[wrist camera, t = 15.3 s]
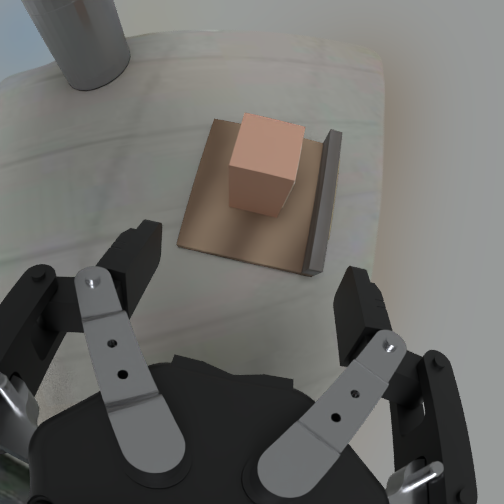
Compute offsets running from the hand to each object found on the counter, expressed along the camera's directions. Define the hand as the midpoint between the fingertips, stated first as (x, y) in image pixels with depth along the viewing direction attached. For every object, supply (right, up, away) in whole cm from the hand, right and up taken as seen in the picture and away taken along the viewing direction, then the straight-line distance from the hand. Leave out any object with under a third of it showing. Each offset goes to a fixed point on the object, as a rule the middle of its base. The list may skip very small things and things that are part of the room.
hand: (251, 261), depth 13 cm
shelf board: (+1, +6, +18) cm, 19 cm away
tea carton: (+1, +6, +17) cm, 18 cm away
